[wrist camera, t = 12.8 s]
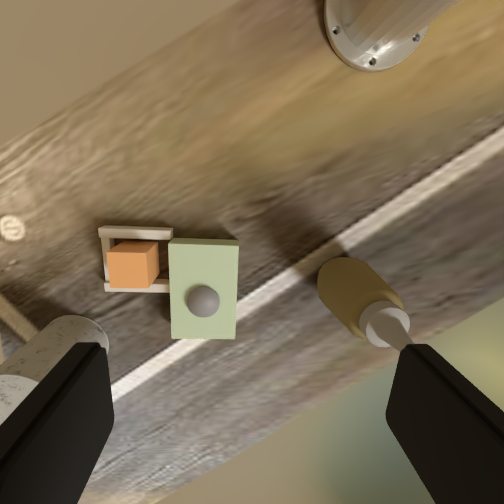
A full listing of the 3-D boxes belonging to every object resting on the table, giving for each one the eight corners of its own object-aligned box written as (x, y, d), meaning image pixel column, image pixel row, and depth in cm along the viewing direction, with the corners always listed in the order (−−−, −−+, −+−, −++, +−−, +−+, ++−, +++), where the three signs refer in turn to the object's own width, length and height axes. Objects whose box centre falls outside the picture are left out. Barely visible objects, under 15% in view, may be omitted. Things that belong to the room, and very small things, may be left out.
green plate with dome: (105, 225, 37) (91, 231, 33) (238, 230, 38) (239, 236, 34) (115, 325, 41) (104, 340, 37) (234, 326, 42) (235, 341, 39)
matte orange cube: (124, 240, 37) (106, 252, 32) (158, 241, 38) (146, 253, 33) (126, 271, 39) (110, 287, 34) (159, 272, 39) (148, 288, 34)
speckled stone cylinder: (105, 314, 40) (53, 374, 29) (112, 368, 43) (66, 442, 31) (38, 314, 40) (-45, 374, 28) (48, 368, 42) (-22, 444, 31)
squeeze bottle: (301, 291, 41) (350, 377, 24) (322, 242, 39) (391, 298, 22) (349, 305, 43) (427, 396, 25) (371, 258, 41) (472, 324, 23)
